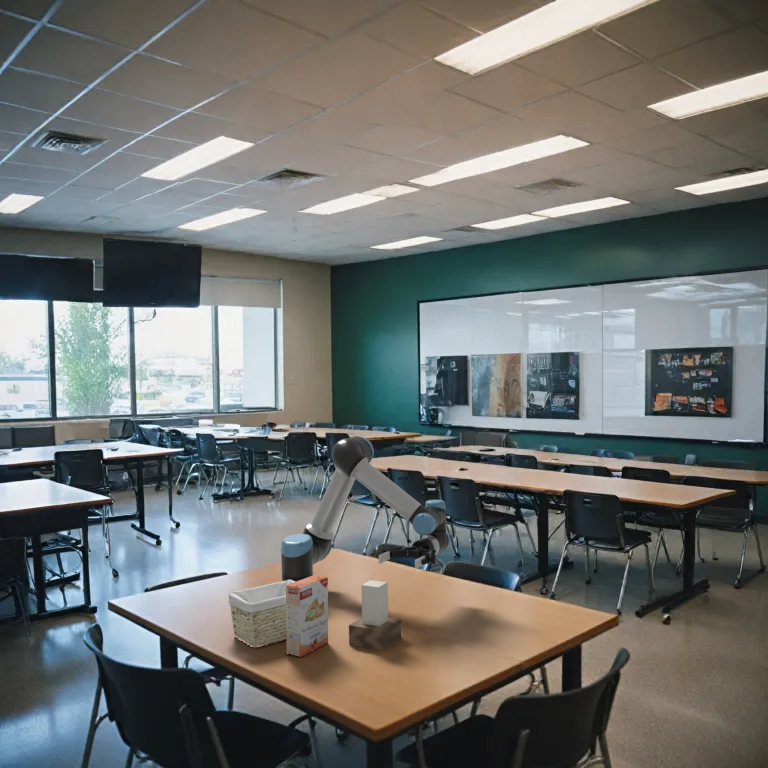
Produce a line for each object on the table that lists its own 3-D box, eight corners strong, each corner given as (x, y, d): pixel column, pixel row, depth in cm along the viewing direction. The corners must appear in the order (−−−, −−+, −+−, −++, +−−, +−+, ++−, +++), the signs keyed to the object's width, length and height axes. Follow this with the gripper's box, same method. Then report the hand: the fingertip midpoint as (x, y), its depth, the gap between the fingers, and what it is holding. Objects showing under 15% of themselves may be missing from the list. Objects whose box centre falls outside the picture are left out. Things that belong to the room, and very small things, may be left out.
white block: (362, 623, 220) (361, 584, 220) (371, 617, 225) (370, 580, 225) (379, 626, 217) (378, 587, 217) (388, 620, 223) (387, 582, 223)
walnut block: (349, 644, 219) (348, 625, 219) (368, 632, 229) (367, 613, 229) (383, 650, 213) (383, 630, 213) (401, 637, 224) (400, 618, 224)
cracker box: (301, 658, 208) (300, 587, 208) (285, 654, 211) (284, 584, 211) (329, 643, 220) (328, 576, 220) (314, 640, 223) (313, 573, 223)
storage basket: (250, 652, 214) (249, 603, 214) (227, 637, 227) (226, 591, 227) (317, 634, 229) (316, 588, 229) (291, 621, 242) (291, 578, 242)
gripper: (457, 563, 248) (431, 578, 229) (394, 554, 260) (365, 568, 241) (457, 541, 248) (431, 555, 229) (394, 534, 260) (365, 546, 241)
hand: (397, 561), depth 235 cm, fingers open, 13 cm apart
